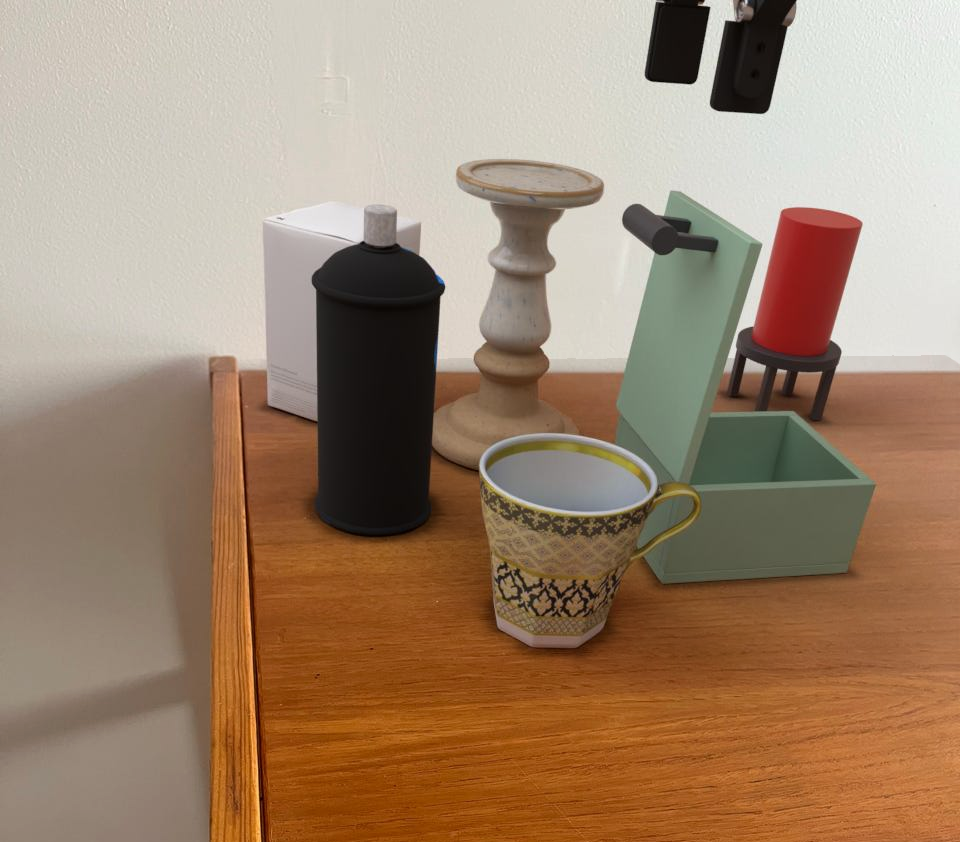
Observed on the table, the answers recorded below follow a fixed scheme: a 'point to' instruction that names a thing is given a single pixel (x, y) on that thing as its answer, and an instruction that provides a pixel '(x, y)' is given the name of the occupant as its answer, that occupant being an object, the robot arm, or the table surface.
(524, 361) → the candle holder
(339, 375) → the aerosol can
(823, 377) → the stool
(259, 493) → the table surface
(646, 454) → the green open box
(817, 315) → the can
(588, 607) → the ceramic cup
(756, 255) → the lid
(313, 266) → the rectangular carton
